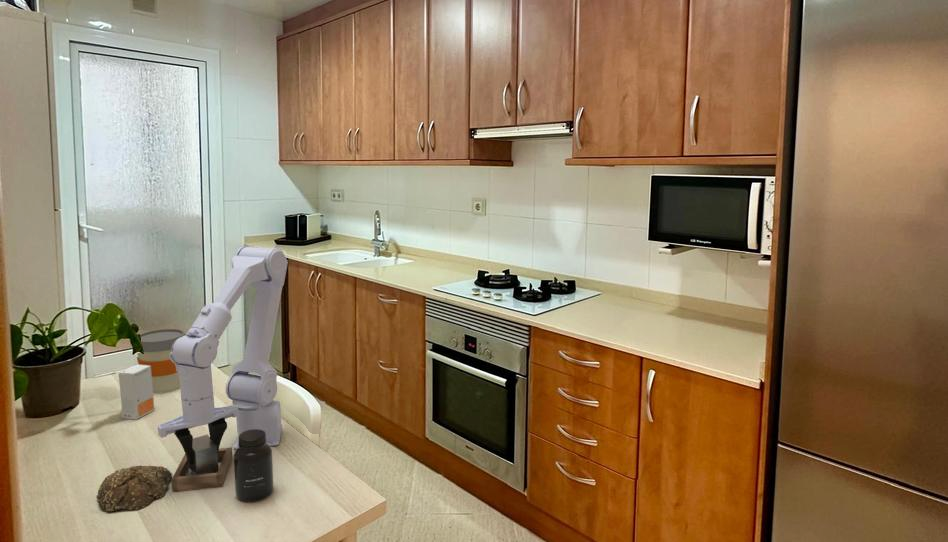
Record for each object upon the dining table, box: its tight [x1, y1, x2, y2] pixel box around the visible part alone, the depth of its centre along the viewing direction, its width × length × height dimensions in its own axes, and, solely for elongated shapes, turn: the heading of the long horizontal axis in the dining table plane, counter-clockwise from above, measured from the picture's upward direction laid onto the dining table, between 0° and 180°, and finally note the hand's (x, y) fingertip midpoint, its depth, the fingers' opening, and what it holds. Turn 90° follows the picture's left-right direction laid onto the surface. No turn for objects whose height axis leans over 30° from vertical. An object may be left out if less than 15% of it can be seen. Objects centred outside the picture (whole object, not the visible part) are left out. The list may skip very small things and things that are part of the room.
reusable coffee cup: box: [136, 328, 186, 394], centre depth 158 cm, size 13×13×15 cm
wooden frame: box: [170, 447, 234, 493], centre depth 115 cm, size 9×11×2 cm
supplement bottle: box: [233, 429, 274, 503], centre depth 108 cm, size 7×7×12 cm
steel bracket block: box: [188, 434, 220, 475], centre depth 115 cm, size 6×4×6 cm, turn 41°
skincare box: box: [118, 363, 156, 421], centre depth 141 cm, size 6×4×12 cm
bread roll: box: [96, 465, 173, 513], centre depth 108 cm, size 13×12×5 cm
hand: (202, 458), depth 115 cm, fingers closed on steel bracket block, 4 cm apart
